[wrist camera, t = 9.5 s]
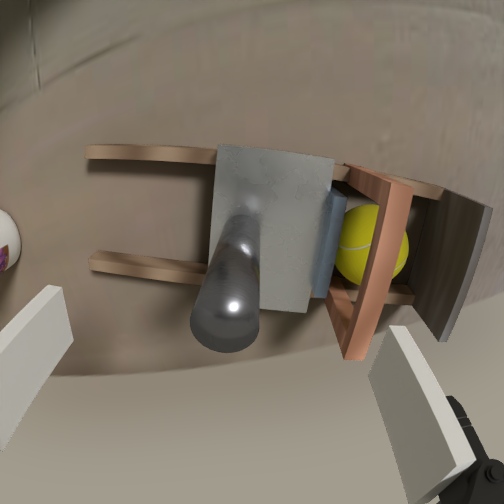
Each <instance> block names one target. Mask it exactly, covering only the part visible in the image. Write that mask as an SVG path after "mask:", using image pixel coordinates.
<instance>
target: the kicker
mask: <svg viewBox="0 0 504 504" xmlns="http://www.w3.org/2000/svg"><path fill="white" fill-rule="evenodd" d="M334 164H335V159H332V158H329V157H323V156H316V155H310V154H303V153H297V152H290V151H282V150H274V149H266V148H258V147H249V146H239V145H228V144H218V150H217V160H216V171H215V182H214V194H213V206H212V219H211V233H210V247H209V262H208V270H207V272H206V275H205V278H204V280H203V283H202V286H201V288H200V291H199V294H198V297H197V299H196V302H195V305H194V308H193V310H192V313H191V316H190V327H191V331H192V333H193V335H194V336H195V338H196V339H197V340H198V341H199V342H200V343H201V344H202V345H204V346H205V347H207V348H209V349H211V350H214V351H217V352H223V353H232V352H237V351H240V350H243V349H245V348H247V347H248V346H250V345H251V344H252V343H253V342H254V340H255V339H256V337H257V335H258V332H259V309H269V310H279V311H289V312H300V313H306V312H307V307H308V303H309V299H310V294H311V289H312V290H313V293H314V297H317V298H327V294H328V290H329V285H330V281H331V277H332V272H333V268H334V263H335V259H336V254H337V250H338V245H339V240H340V235H341V230H342V225H343V220H344V215H345V210H346V204H347V199H348V198H347V197H346V196H344V195H343V194H342V193H340V192H339V191H338V190H337V189H335V188H334V187H333V186H331V183H332V177H333V170H334Z"/></svg>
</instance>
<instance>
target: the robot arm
mask: <svg viewBox="0 0 504 504" xmlns="http://www.w3.org/2000/svg"><path fill="white" fill-rule="evenodd" d="M73 341H74V340H73V336H72V332H71V328H70V323H69V319H68V315H67V310H66V305H65V301H64V296H63V290H62V287H57V286H52V285H47V286H46V287H45V288H44V289H43V290H42V291H41V292H40V293H39V294H38V295H37V296H35V297H34V298H33V299H32V300H31V301H30V302H29V303H28V304H27V305H26V306H25V307H24V308H23V309H22V310H21V311H20V312H19V313H18V314H17V315H16V316H15V317H14V318H13V319H12V320H11V321H10V322H9V323H8V324H7V325H6V326H5V327H4V329H3V330H2V331H1V332H0V451H2V452H3V450H4V449H5V447H6V445H7V443H8V441H9V440H10V438H11V436H12V435H13V433H14V431H15V429H16V428H17V426H18V424H19V423H20V421H21V419H22V418H23V416H24V414H25V413H26V411H27V410H28V408H29V406H30V405H31V403H32V402H33V400H34V398H35V396H36V395H37V394H38V392H39V391H40V389H41V387H42V386H43V384H44V383H45V381H46V380H47V378H48V377H49V375H50V374H51V372H52V371H53V369H54V368H55V366H56V365H57V364H58V362H59V361H60V359H61V358H62V356H63V355H64V353H65V352H66V351H67V349H68V348H69V346H70V345H71V344H72V342H73ZM368 377H369V380H370V383H371V386H372V388H373V392H374V394H375V397H376V400H377V403H378V406H379V409H380V412H381V415H382V418H383V421H384V424H385V427H386V430H387V433H388V436H389V439H390V442H391V446H392V449H393V452H394V455H395V458H396V462H397V465H398V469H399V472H400V475H401V479H402V482H403V485H404V489H405V493H406V497H407V500H408V504H425V503H428V502H430V501H431V500H432V499H433V498H435V497H436V496H437V495H438V496H439V499H440V501H439V502H438V503H437V504H504V464H503V463H502V462H500V461H498V460H495V459H489V458H488V456H487V454H486V452H485V450H484V448H483V446H482V444H481V442H480V440H479V438H478V436H477V434H476V432H475V430H474V428H473V427H472V426H471V422H470V420H469V418H467V415H466V413H465V411H464V409H463V407H462V405H461V404H460V403H459V402H458V401H457V400H456V399H454V397H453V396H445V395H444V393H443V391H442V389H441V387H440V386H439V384H438V382H437V380H436V378H435V377H434V375H433V373H432V371H431V369H430V367H429V366H428V364H427V362H426V360H425V359H424V357H423V355H422V354H421V352H420V350H419V348H418V347H417V345H416V343H415V342H414V340H413V339H412V337H411V335H410V333H409V332H408V330H407V329H406V327H405V326H389V327H388V330H387V332H386V335H385V337H384V340H383V342H382V344H381V347H380V349H379V352H378V354H377V356H376V359H375V361H374V363H373V366H372V368H371V370H370V372H369V375H368Z"/></svg>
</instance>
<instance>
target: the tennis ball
mask: <svg viewBox="0 0 504 504" xmlns="http://www.w3.org/2000/svg"><path fill="white" fill-rule="evenodd" d="M378 210H379V205H375V204H368V205H361V206H358V207H355V208H353V209H351V210H349V211H348V212H346V213H345V215H344V220H343V225H342V230H341V235H340V240H339V245H338V250H337V254H336V259H335V265H336V267H337V269H338V270H339V271H340V272H341V274H342V275H343V276H344V277H345V278H347V279H348V280H350V281H351V282H353V283H355V284H357V285H361V281H362V277H363V273H364V270H365V266H366V262H367V258H368V254H369V250H370V246H371V241H372V237H373V233H374V228H375V224H376V219H377V214H378ZM408 251H409V244H408V237H407V234H406V231H405V232H404V236H403V240H402V244H401V248H400V252H399V255H398V259H397V263H396V266H395V270H394V273H393V277H392V278H394V277H395V276H396V275H397V274H398V273H399V272H400V271H401V269H402V268H403V267H404V265H405V263H406V260H407V257H408Z"/></svg>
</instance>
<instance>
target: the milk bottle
mask: <svg viewBox="0 0 504 504" xmlns="http://www.w3.org/2000/svg"><path fill="white" fill-rule="evenodd" d="M20 251H21V239H20V234H19V231H18V228H17V226H16V224H15V222H14V221H13V219H12V218H11V217H10V215H9V214H7V213H6V212H5V211H3V210H0V274H1V273H2V272H4V271H5V270H6V269H8V268H9V267H11V266H12V265H13V264H14V263H15V262H16V261H17V259H18V257H19V255H20Z"/></svg>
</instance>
